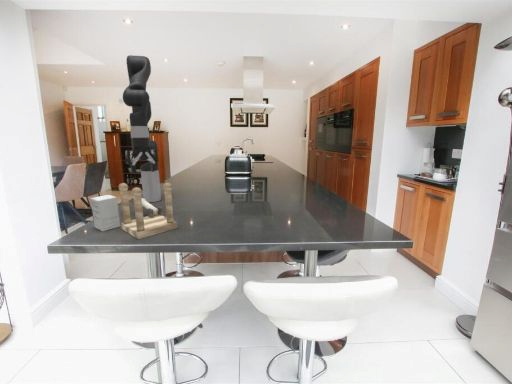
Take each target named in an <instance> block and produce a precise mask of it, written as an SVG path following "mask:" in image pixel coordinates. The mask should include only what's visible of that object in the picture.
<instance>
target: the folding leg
mask: <svg viewBox="0 0 512 384" xmlns="http://www.w3.org/2000/svg"><path fill="white" fill-rule="evenodd" d="M141 199H142V207H143V208H145V209H147V210H148V209H149V208H150V209H153V214H154V215H156V214H158V209H157V207H155V206H154V205H153V204H151V202H147V201H146V199H144V198H143V197H141Z"/></svg>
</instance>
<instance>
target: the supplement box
mask: <svg viewBox="0 0 512 384" xmlns="http://www.w3.org/2000/svg"><path fill="white" fill-rule="evenodd" d="M90 204H91V210H92V216H93V217H92V218H93V225H94V228H95V229H97V230H99V231H101V232H106V231H109V230H111V229H112V230H113V229H117V228H121V224H120V223H121V221H120V212H119V211H120V210H119V204H118V198H117V197H116V196H114V195H110V194H105V195H101V196H99V195H98V196H95V197H91V198H90Z"/></svg>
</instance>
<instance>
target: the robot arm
mask: <svg viewBox="0 0 512 384" xmlns="http://www.w3.org/2000/svg"><path fill="white" fill-rule="evenodd" d="M126 68H127V70H126V71H127V75H128V80H129V81H128V82H129V85H128V86H127V87H125V88H124V90H123V92H122V101H123V103H124V104H125V105H126V106H127V107H131V112H130V113H129V123H130V139H131V148H132V149H131V150H125V151H124V154H125V155H124V156H125V160H124V161H125V165H129V166H130V171H131V173H132V174H133V175H136V174H137V167H136V164H137V162H139V160H140V161H141V160H142V161H143V160H146V161H147V162H146V163H144V164H141V165H140V168H139V169H140V176H141V185H142V186H141V187H142V198H144V199H146V201H147V202H148V203H155V202H160V201H161V200H162V197H161V196H162V194H161V184H160V183H161V182H160V173H159V155H158V154H159V150H158V143H157V142H156V141H155V140H150V131H149V127H148V124H149V123H150V120H151V118H152V106H151V101H150V95H149V93H148V91H147V83H148V81H149V79H150V76H151V73H152V66H151V60H150V59H149V58H148V56H143V55H132V54H131V55H127V56H126ZM132 155H133V157H132V159H131V156H132Z"/></svg>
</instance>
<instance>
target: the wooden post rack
mask: <svg viewBox="0 0 512 384" xmlns="http://www.w3.org/2000/svg"><path fill="white" fill-rule="evenodd" d="M162 188H163V191H164V203H165V214H166V215H165V216H164V207H162V206H157V207H156V208H157V209H158V213H157V214H153V209H150V208H149V209H147V216H144V211H143V209H144V208H143V206H142V199H141V198H142V195H143V189H141V188H140V187H138V186H137V187H134V188H132V190H131V194H132V196H133V205H134V206H133V207H134V215H135V217H134V218H135V219H132V218H131V211H130V202H129V201H130V199H129V192H128V189H129V184H127V183H125V182H122V183H119V184H118V191H119V193H120V194H119V195H120V199H121V201H120V203H121V210H122V219H123V222H122V221H121V222H120V229H121V230H122V231H124V232H126V233H128V234H129V235H131V236H132V237H134V238H136V239H138V240H141V239H145V238H149V237H152V236H154V235H158V234H162V233H165V232H169V231H173V230H176V229H178V227H179V226H178V221H176V220H174V208H173V195H172V189H173V184H172V183H171V182H165V183H164V184H163V185H162Z"/></svg>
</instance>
